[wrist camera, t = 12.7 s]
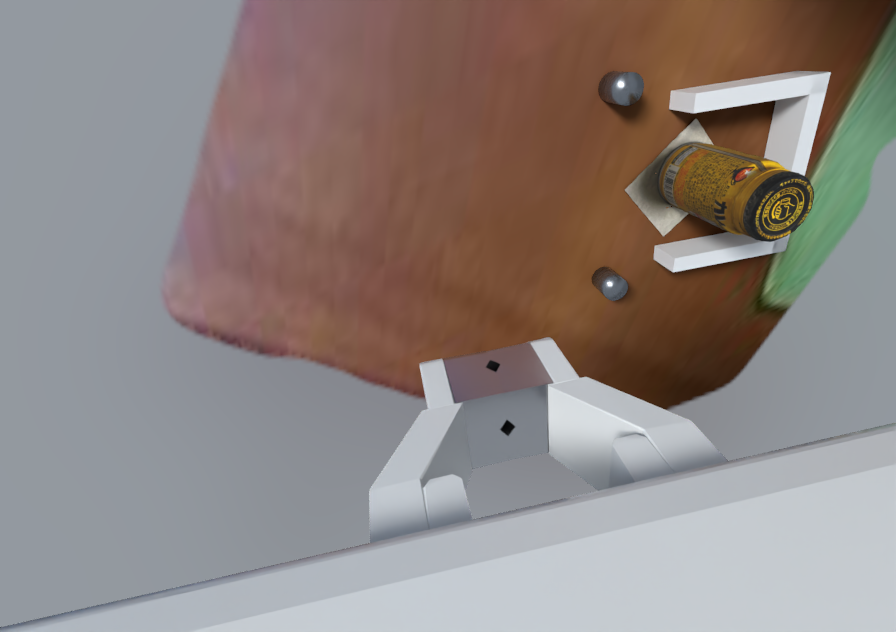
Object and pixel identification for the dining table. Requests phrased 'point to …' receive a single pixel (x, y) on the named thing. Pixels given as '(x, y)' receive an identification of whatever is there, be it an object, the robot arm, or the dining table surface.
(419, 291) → the dining table surface
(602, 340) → the dining table surface
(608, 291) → the cylinder
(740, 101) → the holder
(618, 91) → the cylinder
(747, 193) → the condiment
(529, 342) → the robot arm
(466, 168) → the dining table surface
